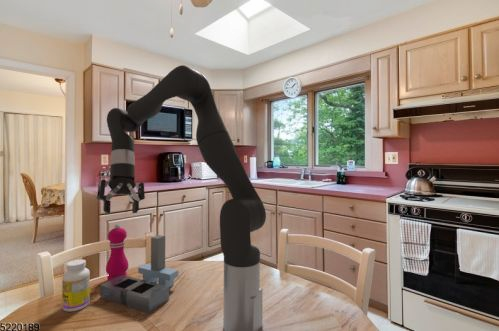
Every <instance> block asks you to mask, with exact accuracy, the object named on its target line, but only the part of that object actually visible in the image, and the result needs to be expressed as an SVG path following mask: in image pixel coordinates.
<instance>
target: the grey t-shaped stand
mask: <svg viewBox="0 0 499 331" xmlns="http://www.w3.org/2000/svg"><path fill="white" fill-rule="evenodd" d="M137 273H138V274H141V275H142V280H145V281H149V282H153V283H157V282H158V283H157V284H161V285H165V286H169V289H170V288H171V287H173V286H174V283H175V282H174V281H175V280H174V279H176V278H177V277H179V269H174V268H172V267H171V268H170V267H166V236H165V235H161V234H158V235H154V236H152V237H151V238H150V263H148V262H147V263H145V264H143V265H140V266H138V272H137Z"/></svg>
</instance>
